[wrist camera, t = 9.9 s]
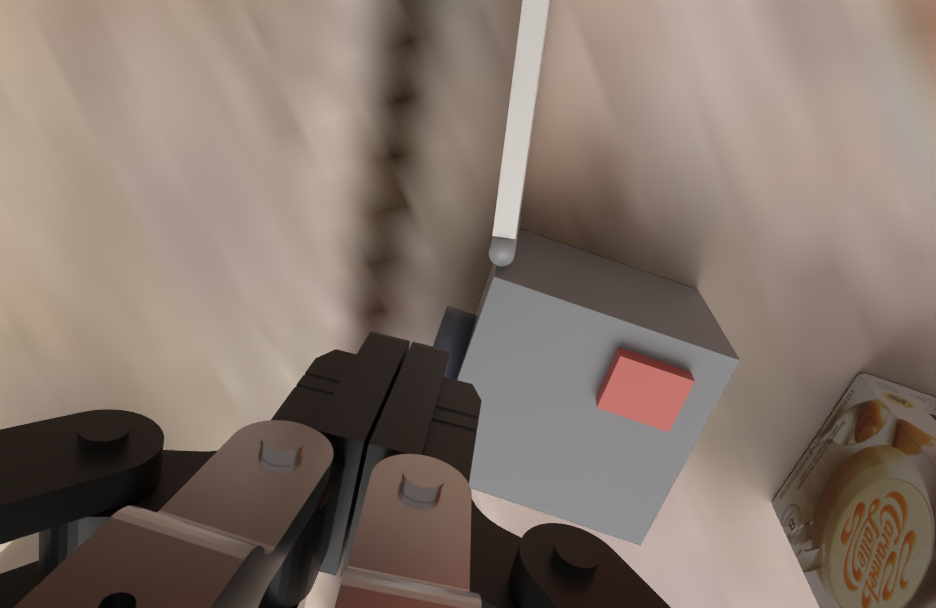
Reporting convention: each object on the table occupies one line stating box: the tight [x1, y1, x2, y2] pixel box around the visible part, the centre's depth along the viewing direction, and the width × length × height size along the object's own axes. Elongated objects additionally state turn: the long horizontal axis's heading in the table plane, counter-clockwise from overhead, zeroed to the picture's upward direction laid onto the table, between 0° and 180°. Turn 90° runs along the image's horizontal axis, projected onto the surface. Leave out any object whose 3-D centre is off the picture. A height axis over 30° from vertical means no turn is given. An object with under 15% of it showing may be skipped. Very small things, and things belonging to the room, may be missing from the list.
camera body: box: [433, 229, 740, 546], centre depth 31 cm, size 10×11×9 cm
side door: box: [489, 0, 551, 266], centre depth 27 cm, size 2×13×7 cm, turn 174°
